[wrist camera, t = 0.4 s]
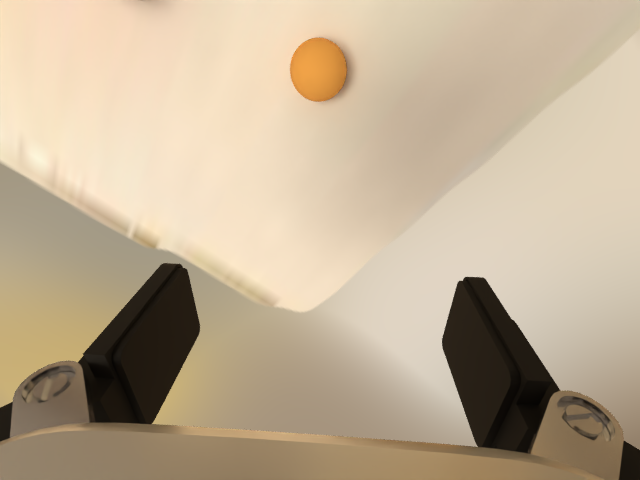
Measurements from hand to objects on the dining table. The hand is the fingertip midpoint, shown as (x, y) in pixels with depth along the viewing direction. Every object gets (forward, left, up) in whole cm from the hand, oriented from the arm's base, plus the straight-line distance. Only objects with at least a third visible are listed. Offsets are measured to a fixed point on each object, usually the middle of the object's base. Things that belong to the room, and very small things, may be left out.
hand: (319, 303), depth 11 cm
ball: (-3, -6, -24) cm, 25 cm away
